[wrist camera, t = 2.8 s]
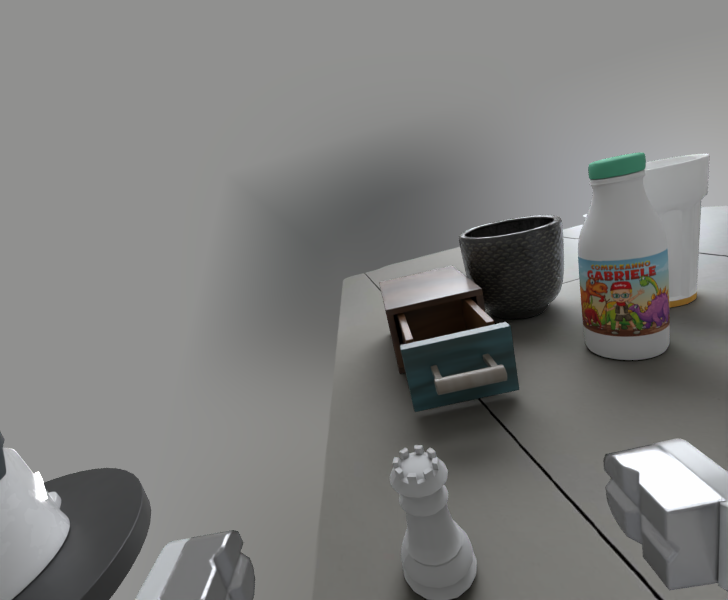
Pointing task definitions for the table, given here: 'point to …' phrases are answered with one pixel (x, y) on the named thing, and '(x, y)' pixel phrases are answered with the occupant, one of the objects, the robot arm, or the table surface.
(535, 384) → the table surface
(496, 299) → the planter
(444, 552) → the rook chess piece
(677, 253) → the cup
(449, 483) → the table surface
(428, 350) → the drawer
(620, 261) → the milk bottle
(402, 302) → the cabinet
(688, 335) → the table surface
